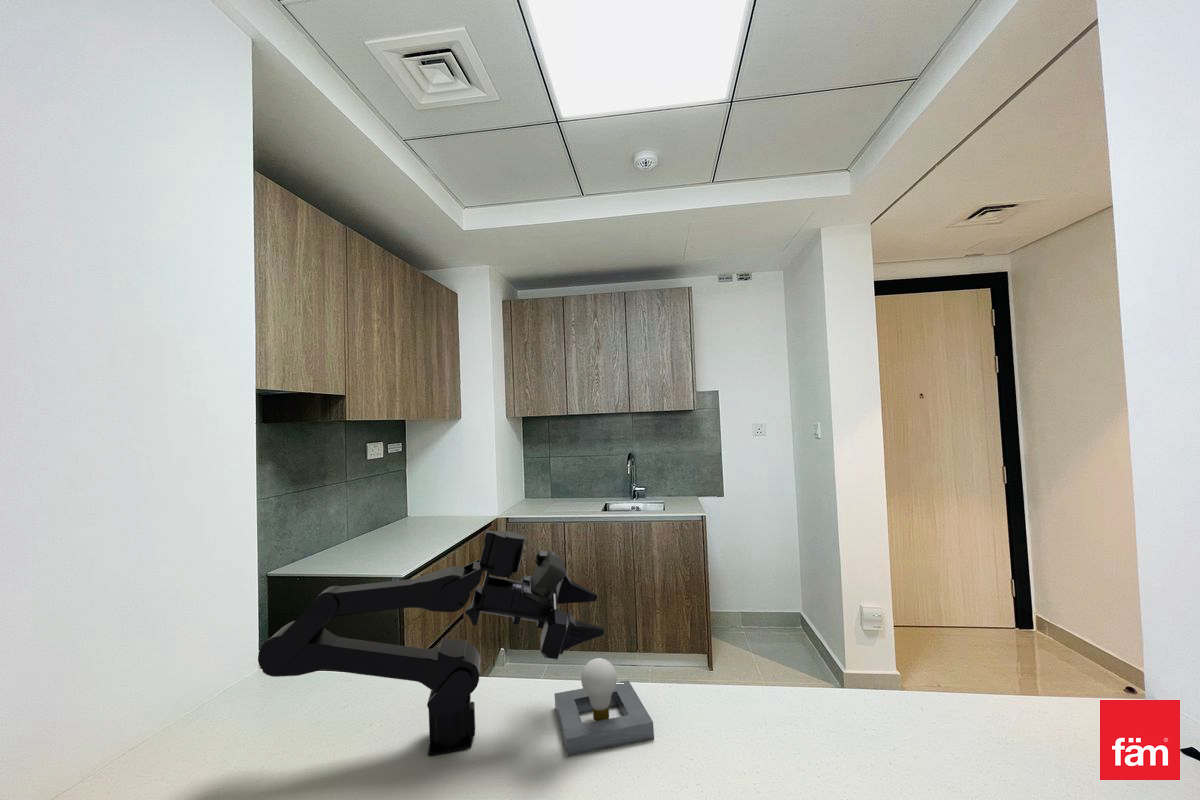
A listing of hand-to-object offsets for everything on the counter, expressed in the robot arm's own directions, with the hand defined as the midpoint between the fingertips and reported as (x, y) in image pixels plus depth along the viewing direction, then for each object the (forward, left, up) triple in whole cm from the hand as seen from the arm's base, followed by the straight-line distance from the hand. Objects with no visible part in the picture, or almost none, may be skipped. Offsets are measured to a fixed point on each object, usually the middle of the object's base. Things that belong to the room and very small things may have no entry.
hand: (600, 614), depth 84 cm
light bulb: (-1, -2, -17) cm, 17 cm away
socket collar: (-1, -2, -16) cm, 17 cm away
